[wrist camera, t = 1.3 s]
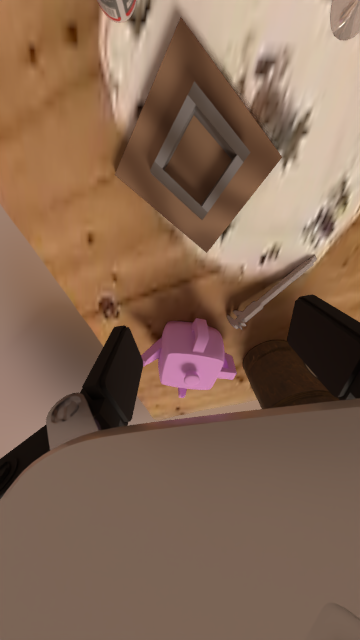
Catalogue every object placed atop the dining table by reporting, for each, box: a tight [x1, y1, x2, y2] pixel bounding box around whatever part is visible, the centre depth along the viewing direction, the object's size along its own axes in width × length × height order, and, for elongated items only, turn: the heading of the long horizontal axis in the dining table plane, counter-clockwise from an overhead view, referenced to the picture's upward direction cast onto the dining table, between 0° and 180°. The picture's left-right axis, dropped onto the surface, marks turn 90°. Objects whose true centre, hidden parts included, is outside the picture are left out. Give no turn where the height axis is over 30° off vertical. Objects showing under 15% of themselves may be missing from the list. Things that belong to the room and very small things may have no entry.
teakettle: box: [141, 318, 237, 398], centre depth 39 cm, size 17×17×12 cm
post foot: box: [115, 18, 282, 253], centre depth 24 cm, size 16×18×4 cm
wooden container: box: [243, 340, 340, 409], centre depth 39 cm, size 15×15×22 cm
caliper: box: [227, 255, 316, 330], centre depth 34 cm, size 20×1×6 cm, turn 132°
